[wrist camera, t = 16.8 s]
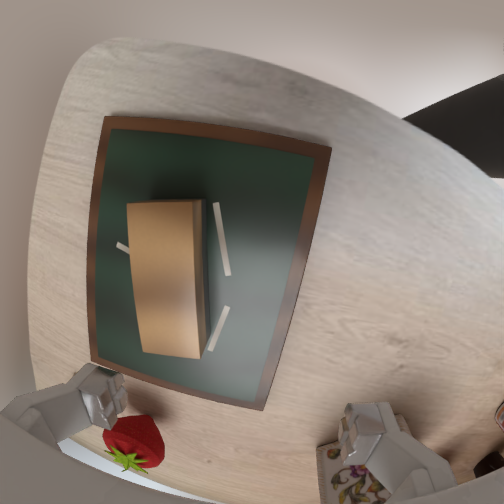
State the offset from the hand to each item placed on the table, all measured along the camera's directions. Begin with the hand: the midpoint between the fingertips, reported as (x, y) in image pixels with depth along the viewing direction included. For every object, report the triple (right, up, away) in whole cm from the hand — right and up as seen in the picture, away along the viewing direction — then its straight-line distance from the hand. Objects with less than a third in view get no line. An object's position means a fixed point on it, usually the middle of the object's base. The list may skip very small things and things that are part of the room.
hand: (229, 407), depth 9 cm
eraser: (-5, +4, +15) cm, 16 cm away
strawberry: (-12, -15, +22) cm, 29 cm away
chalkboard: (-5, +3, +17) cm, 18 cm away
